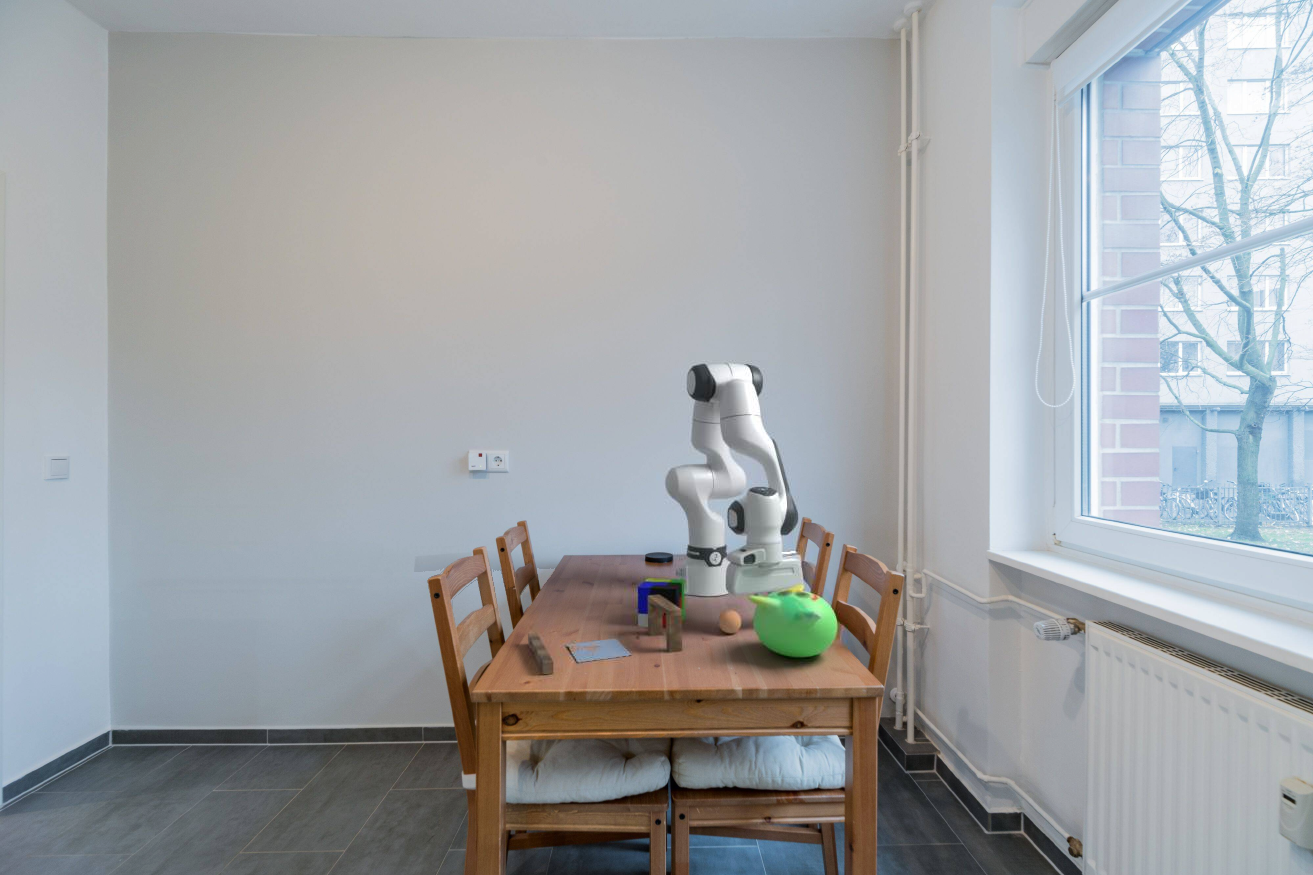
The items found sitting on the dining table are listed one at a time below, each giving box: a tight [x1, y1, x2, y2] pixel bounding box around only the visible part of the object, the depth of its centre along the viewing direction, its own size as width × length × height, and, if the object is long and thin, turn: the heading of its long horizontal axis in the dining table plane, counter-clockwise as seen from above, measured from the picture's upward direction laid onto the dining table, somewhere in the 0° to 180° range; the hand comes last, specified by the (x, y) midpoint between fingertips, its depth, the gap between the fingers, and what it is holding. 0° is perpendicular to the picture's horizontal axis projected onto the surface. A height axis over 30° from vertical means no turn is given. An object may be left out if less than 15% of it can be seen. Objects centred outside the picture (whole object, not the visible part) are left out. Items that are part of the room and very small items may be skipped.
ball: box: [718, 609, 742, 634], centre depth 155 cm, size 6×6×6 cm
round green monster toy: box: [747, 584, 838, 658], centre depth 139 cm, size 18×17×15 cm
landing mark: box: [566, 638, 632, 664], centre depth 143 cm, size 12×12×1 cm
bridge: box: [647, 595, 683, 653], centre depth 149 cm, size 3×14×9 cm, turn 20°
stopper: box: [527, 632, 554, 675], centre depth 139 cm, size 20×2×2 cm, turn 20°
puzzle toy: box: [637, 578, 686, 629], centre depth 165 cm, size 10×10×10 cm
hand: (765, 609), depth 157 cm, fingers closed
